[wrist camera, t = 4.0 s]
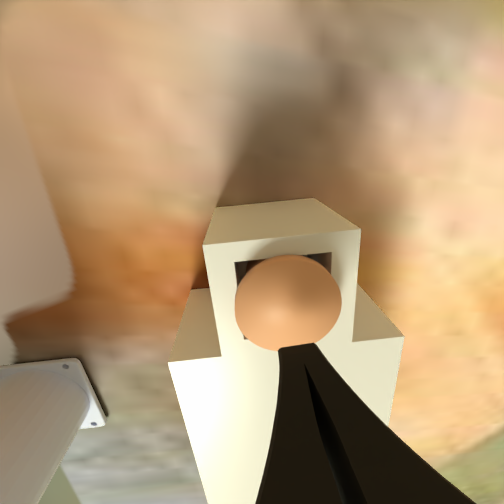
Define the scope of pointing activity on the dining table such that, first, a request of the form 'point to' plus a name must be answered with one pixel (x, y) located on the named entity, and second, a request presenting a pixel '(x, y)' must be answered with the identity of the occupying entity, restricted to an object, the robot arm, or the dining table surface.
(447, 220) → the dining table surface
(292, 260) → the plunger button
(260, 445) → the button housing
